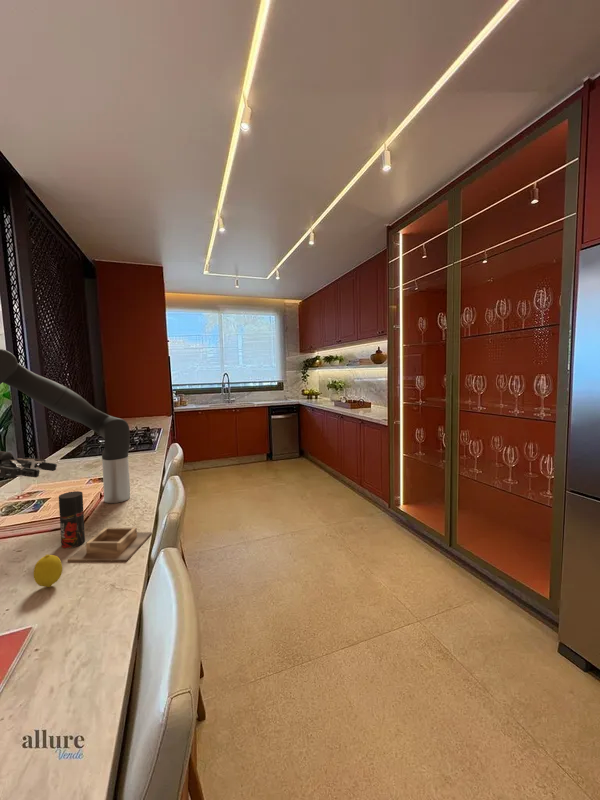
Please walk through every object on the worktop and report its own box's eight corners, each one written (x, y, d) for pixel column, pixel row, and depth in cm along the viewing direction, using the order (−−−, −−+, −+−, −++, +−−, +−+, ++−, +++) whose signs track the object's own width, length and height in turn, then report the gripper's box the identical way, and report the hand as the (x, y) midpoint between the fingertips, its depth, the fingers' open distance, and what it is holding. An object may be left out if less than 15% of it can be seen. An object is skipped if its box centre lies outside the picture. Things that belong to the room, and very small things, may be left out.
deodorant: (89, 539, 106) (87, 491, 105) (75, 548, 100) (72, 498, 99) (71, 538, 107) (69, 491, 106) (56, 547, 101) (53, 498, 100)
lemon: (68, 582, 84) (66, 551, 84) (45, 596, 79) (43, 562, 79) (52, 578, 86) (50, 547, 86) (28, 591, 81) (26, 558, 80)
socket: (101, 534, 110) (101, 523, 109) (151, 534, 110) (151, 523, 109) (67, 561, 94) (66, 548, 93) (126, 561, 94) (125, 549, 93)
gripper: (-30, 454, 94) (34, 462, 96) (7, 446, 108) (62, 454, 110) (-35, 481, 94) (29, 489, 96) (3, 470, 108) (58, 477, 110)
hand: (47, 470), depth 103 cm, fingers open, 8 cm apart
